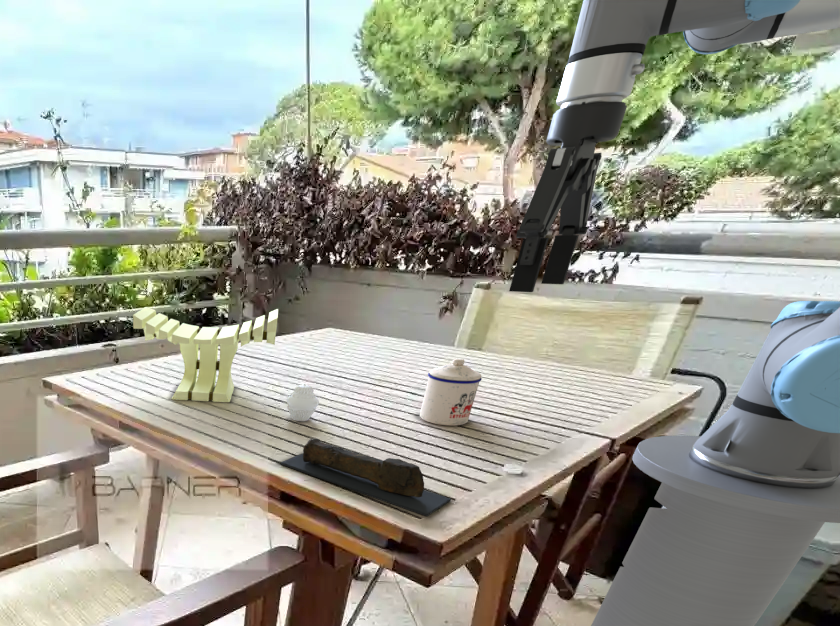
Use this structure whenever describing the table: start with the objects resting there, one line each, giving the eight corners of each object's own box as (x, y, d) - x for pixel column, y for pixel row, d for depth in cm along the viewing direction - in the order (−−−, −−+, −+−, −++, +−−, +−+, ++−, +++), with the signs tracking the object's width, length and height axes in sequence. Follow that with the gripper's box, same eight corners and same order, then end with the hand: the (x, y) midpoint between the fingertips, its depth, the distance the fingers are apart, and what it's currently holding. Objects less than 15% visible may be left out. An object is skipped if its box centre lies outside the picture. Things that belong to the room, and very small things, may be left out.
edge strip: (450, 500, 77) (451, 498, 77) (426, 516, 73) (427, 513, 73) (306, 453, 93) (306, 451, 93) (280, 464, 89) (280, 462, 89)
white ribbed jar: (281, 421, 108) (285, 386, 105) (288, 412, 113) (292, 378, 110) (313, 425, 106) (318, 389, 102) (318, 416, 111) (323, 381, 107)
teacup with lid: (454, 429, 102) (472, 367, 97) (408, 418, 109) (422, 358, 103) (484, 417, 109) (502, 357, 103) (439, 406, 115) (454, 350, 109)
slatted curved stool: (270, 385, 132) (278, 306, 123) (268, 404, 118) (277, 317, 110) (149, 380, 138) (148, 304, 129) (134, 397, 125) (133, 314, 116)
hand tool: (298, 463, 88) (302, 436, 86) (314, 458, 90) (318, 431, 88) (409, 506, 75) (417, 475, 73) (424, 498, 77) (433, 467, 75)
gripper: (601, 86, 59) (538, 297, 69) (650, 110, 73) (592, 281, 83) (522, 99, 64) (475, 293, 74) (583, 118, 78) (536, 280, 88)
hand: (537, 287), depth 79 cm, fingers open, 13 cm apart
